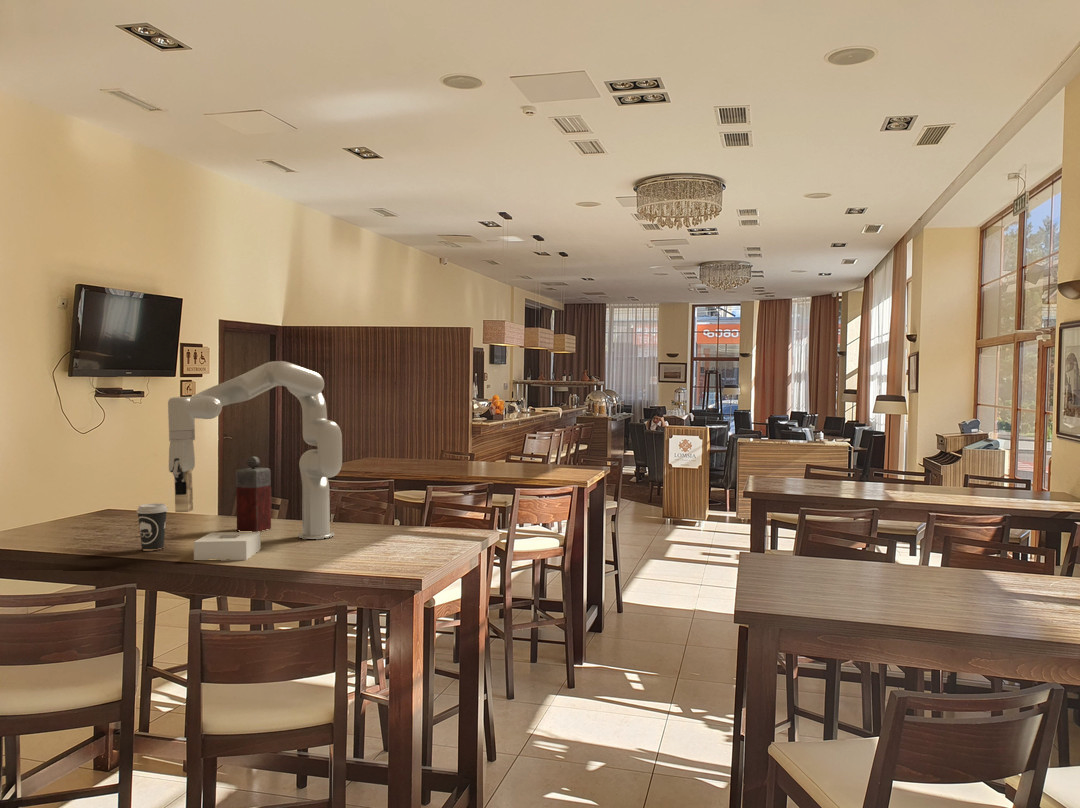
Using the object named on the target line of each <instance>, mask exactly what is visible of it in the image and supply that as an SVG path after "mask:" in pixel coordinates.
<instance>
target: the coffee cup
mask: <svg viewBox="0 0 1080 808" xmlns="http://www.w3.org/2000/svg"><path fill="white" fill-rule="evenodd" d="M168 511H169V508H168V507H167V506H166V504H165V503H147V504H145V503H144V504H139V505H138V508H137V510H136V512H135V513H136V514H137V516H138V527H139V534H140V544H141V550H142V549H158V548H162V547H165V534H166V524H167V514H168V513H167V512H168Z"/></svg>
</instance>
